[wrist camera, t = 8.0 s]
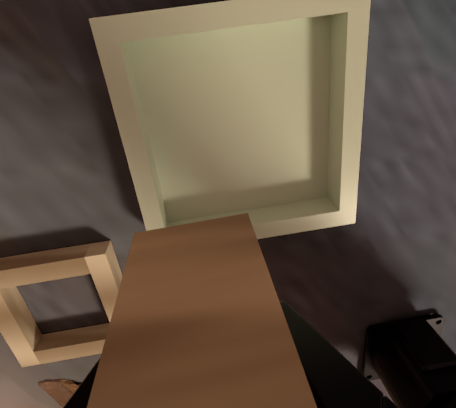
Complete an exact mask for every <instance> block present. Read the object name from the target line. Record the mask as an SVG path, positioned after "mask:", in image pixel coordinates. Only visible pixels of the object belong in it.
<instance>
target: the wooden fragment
mask: <svg viewBox="0 0 456 408" xmlns="http://www.w3.org/2000/svg"><path fill="white" fill-rule="evenodd" d="M38 384H39V385H40V386H41V387H42V388H43V389H44V390H45V391H46V392H47V393H48V394H50V395H51V396H52V397H53V398H54V399H55V400H56V401H57V402H58V403H59V404H60V405H61V406H62V407H64V406H65V405H66V403H67V402H68V401H69V399H70V398H71V397H72V395H73V394H74V393H75V391H76V390H77V389H78V387H79V386H80V385H81V384H78V385H76V384H75V383H74V382H73V381H70V380H66V379H57V380H45V381H42V382H38Z"/></svg>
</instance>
